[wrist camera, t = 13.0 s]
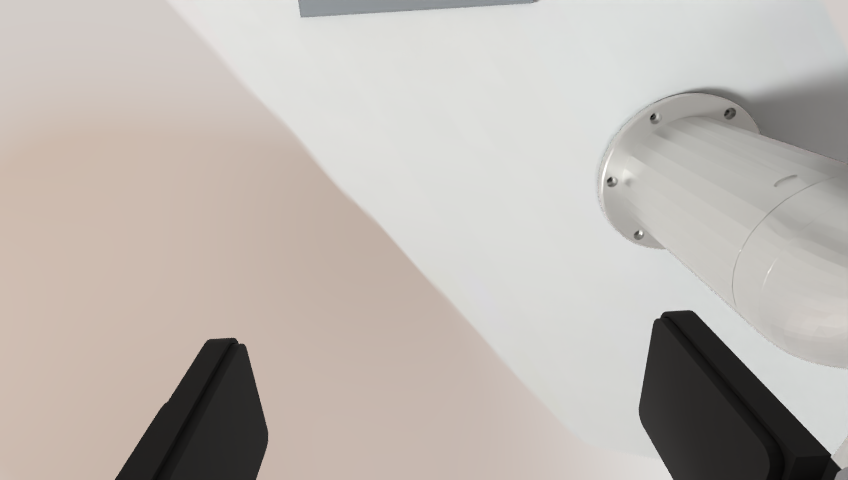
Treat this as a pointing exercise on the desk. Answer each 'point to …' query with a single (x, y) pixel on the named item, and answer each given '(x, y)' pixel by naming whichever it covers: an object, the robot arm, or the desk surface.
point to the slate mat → (388, 5)
